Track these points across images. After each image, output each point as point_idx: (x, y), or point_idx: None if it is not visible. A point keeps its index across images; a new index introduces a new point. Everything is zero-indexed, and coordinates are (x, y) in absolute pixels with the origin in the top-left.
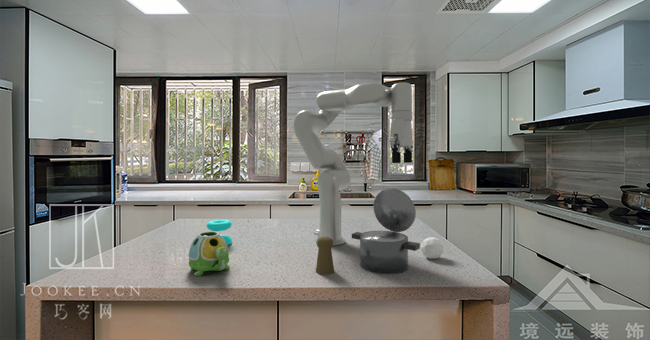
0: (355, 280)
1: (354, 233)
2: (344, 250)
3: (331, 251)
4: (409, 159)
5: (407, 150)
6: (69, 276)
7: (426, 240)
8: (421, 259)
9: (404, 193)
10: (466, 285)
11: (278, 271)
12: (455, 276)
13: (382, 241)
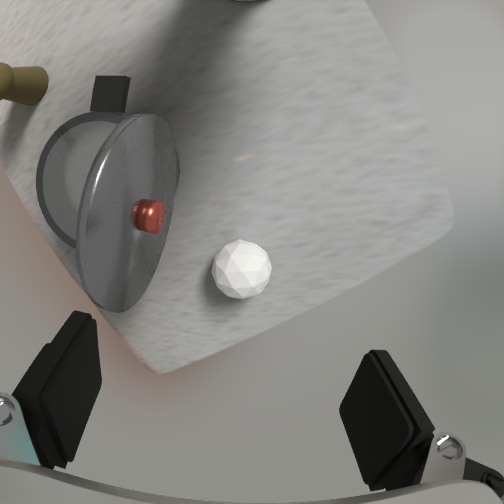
0: (25, 162)
1: (102, 80)
2: (184, 31)
3: (11, 96)
4: (352, 419)
5: (409, 482)
6: None
7: (227, 268)
8: (215, 239)
9: (96, 300)
10: (120, 333)
11: (3, 24)
12: (149, 316)
13: (47, 205)
